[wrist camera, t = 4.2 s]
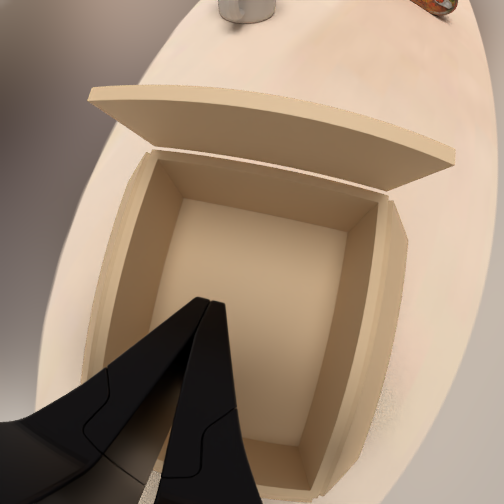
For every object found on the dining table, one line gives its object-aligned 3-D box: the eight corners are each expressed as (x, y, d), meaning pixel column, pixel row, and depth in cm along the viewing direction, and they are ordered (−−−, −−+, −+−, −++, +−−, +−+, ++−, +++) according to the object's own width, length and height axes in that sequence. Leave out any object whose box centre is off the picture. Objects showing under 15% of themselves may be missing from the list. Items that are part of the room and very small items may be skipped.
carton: (336, 492, 18) (357, 540, 10) (85, 428, 19) (38, 454, 12) (400, 240, 22) (448, 213, 15) (135, 185, 23) (97, 143, 16)
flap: (388, 181, 15) (386, 191, 15) (157, 136, 16) (154, 146, 16) (455, 149, 8) (454, 165, 8) (92, 87, 9) (87, 100, 9)
